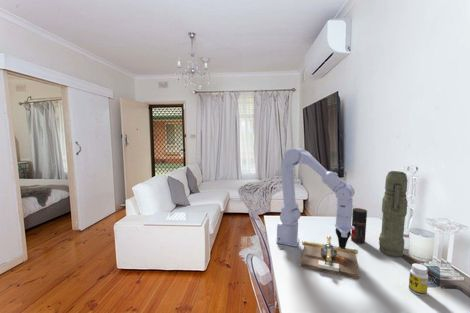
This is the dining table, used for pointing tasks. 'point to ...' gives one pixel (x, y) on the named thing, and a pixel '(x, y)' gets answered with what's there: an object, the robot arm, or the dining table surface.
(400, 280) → the dining table surface
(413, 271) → the supplement bottle
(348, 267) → the stand board
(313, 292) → the dining table surface
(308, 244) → the capstan
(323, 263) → the frame
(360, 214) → the deodorant
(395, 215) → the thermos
